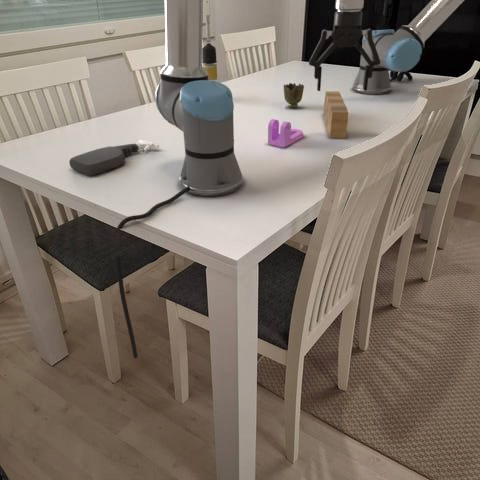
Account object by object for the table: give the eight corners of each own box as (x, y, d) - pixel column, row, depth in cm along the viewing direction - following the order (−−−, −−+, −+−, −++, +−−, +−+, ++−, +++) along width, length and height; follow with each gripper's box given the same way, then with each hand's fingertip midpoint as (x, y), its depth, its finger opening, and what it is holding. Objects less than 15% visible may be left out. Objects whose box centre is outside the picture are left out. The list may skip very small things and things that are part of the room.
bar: (345, 138, 137) (348, 112, 132) (329, 138, 137) (332, 112, 133) (337, 114, 158) (339, 91, 154) (323, 114, 158) (325, 91, 154)
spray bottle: (67, 168, 120) (139, 144, 136) (91, 178, 114) (163, 151, 130) (65, 157, 118) (137, 134, 134) (89, 167, 112) (162, 142, 128)
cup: (279, 108, 165) (280, 86, 160) (287, 103, 170) (288, 82, 166) (298, 111, 162) (299, 88, 157) (305, 105, 167) (307, 83, 163)
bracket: (283, 147, 130) (284, 124, 126) (267, 143, 133) (268, 120, 129) (305, 135, 139) (307, 113, 135) (290, 132, 142) (291, 110, 138)
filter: (220, 99, 177) (217, 15, 161) (206, 100, 176) (202, 16, 160) (215, 96, 182) (212, 14, 166) (202, 97, 180) (197, 14, 164)
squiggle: (400, 92, 202) (376, 71, 205) (417, 76, 202) (392, 56, 205) (405, 81, 191) (380, 59, 194) (423, 64, 191) (397, 42, 194)
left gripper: (392, 7, 124) (381, 86, 136) (302, 10, 126) (299, 87, 138) (398, 10, 118) (386, 92, 129) (303, 12, 120) (300, 93, 131)
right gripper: (410, -58, 147) (399, 13, 158) (333, -57, 149) (327, 14, 160) (415, -59, 140) (403, 16, 152) (335, -57, 142) (329, 16, 154)
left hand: (341, 89), depth 133 cm, fingers open, 13 cm apart
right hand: (364, 15), depth 156 cm, fingers open, 13 cm apart
